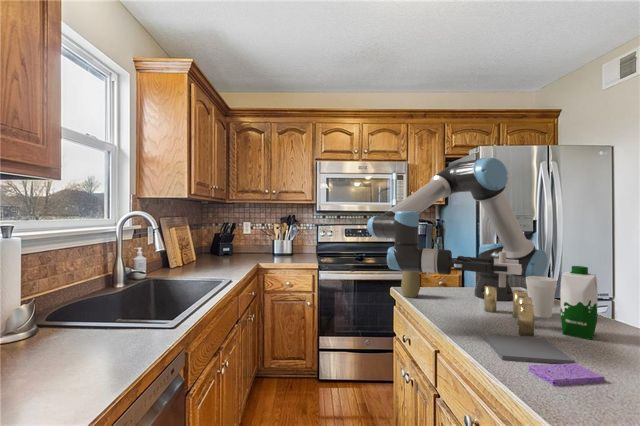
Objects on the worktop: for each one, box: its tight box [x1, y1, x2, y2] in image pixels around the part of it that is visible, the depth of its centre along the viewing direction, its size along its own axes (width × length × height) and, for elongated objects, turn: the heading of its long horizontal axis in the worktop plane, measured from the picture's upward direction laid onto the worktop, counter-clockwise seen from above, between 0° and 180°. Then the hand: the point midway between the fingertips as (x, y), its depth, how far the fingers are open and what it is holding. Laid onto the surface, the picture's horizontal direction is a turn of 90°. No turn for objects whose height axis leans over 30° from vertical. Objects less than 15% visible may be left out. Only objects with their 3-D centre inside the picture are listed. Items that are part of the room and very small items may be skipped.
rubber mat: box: [482, 333, 575, 365], centre depth 93 cm, size 16×16×1 cm
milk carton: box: [560, 265, 598, 341], centre depth 105 cm, size 9×9×20 cm
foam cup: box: [525, 276, 558, 318], centre depth 125 cm, size 10×9×13 cm
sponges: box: [528, 362, 606, 386], centre depth 77 cm, size 7×13×2 cm, turn 98°
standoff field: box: [483, 286, 535, 337], centre depth 116 cm, size 12×30×9 cm, turn 170°
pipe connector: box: [499, 252, 522, 287], centre depth 101 cm, size 10×10×10 cm
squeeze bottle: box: [400, 271, 421, 298], centre depth 151 cm, size 8×8×18 cm
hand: (519, 267), depth 99 cm, fingers closed on pipe connector, 10 cm apart
